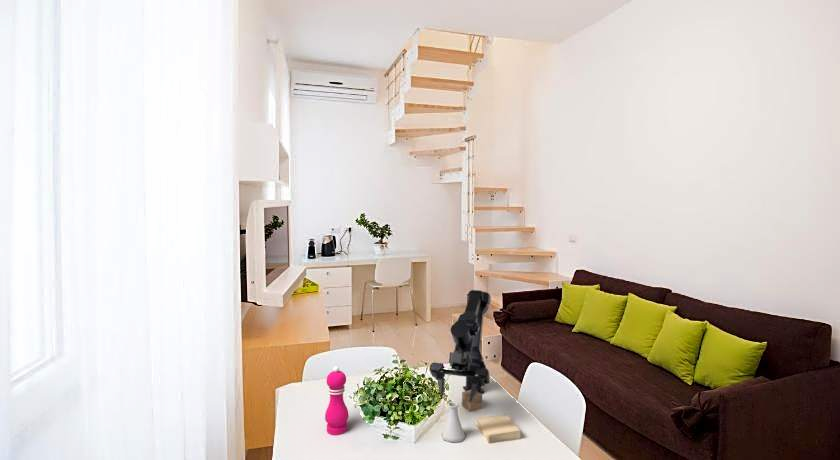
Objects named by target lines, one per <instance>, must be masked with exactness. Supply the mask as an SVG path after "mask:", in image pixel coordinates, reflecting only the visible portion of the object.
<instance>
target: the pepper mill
mask: <svg viewBox="0 0 840 460" xmlns="http://www.w3.org/2000/svg"><path fill="white" fill-rule="evenodd" d="M346 382H347V376H346V374H345V372H344V371H341V370H340V368H339V366H337V365H335V366H334V367H333V369H332V371H331V372H330V373H328V374H327V377H326V386H328V390H327V394H329V403H328V405H327V408H326V409H325V413H324V419H325V422H326V433H327V434H329V435H333V436H338V435H343V434H344V433H346V432H347V431H348V422H347V421H348V419H349V417H350V415H349V410H348V407H347V405H346V403H345V400H344V392H345V390H346V389H345V387H346V386H345V384H346Z"/></svg>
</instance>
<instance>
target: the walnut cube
mask: <svg viewBox="0 0 840 460" xmlns="http://www.w3.org/2000/svg"><path fill="white" fill-rule="evenodd" d="M470 393H471V390H468V391H465V390H464V391H462V392H461V406H462V407H463V408H465V410H467V411H468V412H469V413H472V412H475V411H479V410H483V393H479V392H478V391H477V393H476V395H475V396H474V398H473V400H472V402H470V401H469V400H470Z"/></svg>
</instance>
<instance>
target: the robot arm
mask: <svg viewBox="0 0 840 460" xmlns="http://www.w3.org/2000/svg"><path fill="white" fill-rule="evenodd" d="M491 297H492V296H491V295H490V293H489V292H488V291H483V290H477V289H476V290H475V289H471V290H469V292H467V304H466V306H465V310H464V312H463V313H461V314H460V315H459V317H458V318H457V320H456V321H455V322H454V323H453V324H452V325H451V327H450V333H451V336H452V339H453V342H454V343H455V346H454V350H453V352H449V359H448V363H449V367H445V365H444V363H443V362H442V363H439V362H432V363H431V364H430V366H429V372H430V374H431V376H432V377H433V378H434V379H435V380H437V382H438V383H437V384H438V391H439V397H440V399H442V398H443V395H444V390H445V382H446V379H445V376H446V375H449V376H456V377H464V378H465V386H464V385H463V386H462V389H463V390H464V391H468V390H471V393H470V400H469V401H470V402H472V400H473V398H474V396H475V395H476V393H477V391H478V392H479V393H481V394H485V390H484V389H483V388H482V387H485V385H489V384H490V379H491V377H490V376H491V375H490V372H489V371H490V370H489V369H488V368H487V367H486V364H485V361H484V357H483V355H482V352H481V345H482V335H483V324H484V317H485V316H484V315H485V314H486V312H487V311H488V310H489V307H490V306H489V305H491V301H492V298H491Z"/></svg>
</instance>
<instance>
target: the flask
mask: <svg viewBox="0 0 840 460" xmlns="http://www.w3.org/2000/svg"><path fill="white" fill-rule="evenodd" d="M447 406H448V414H447V418H446V420H445V423H444V426H443V429H442V432H441V437H442V440H443V441H447V442H449V443H460V442H461V443H462V441H463V440H464V439H465V438H466V435H465V433H464V429H463V427H462V423H461V421H460V417H459V412H458V407H459V402H455V401H450V402H448V403H447Z"/></svg>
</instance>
